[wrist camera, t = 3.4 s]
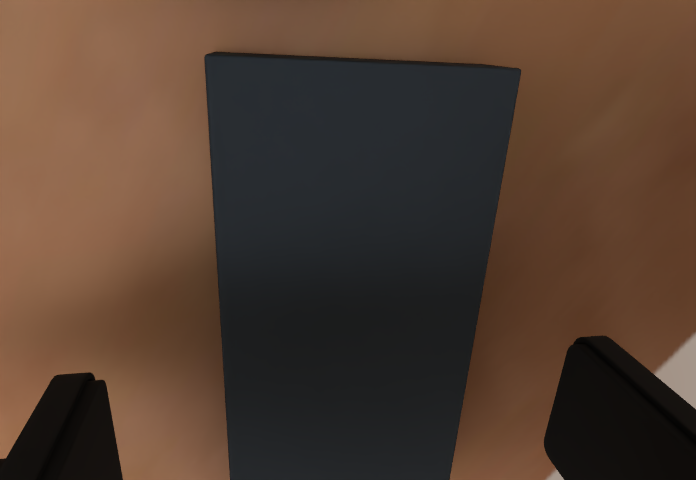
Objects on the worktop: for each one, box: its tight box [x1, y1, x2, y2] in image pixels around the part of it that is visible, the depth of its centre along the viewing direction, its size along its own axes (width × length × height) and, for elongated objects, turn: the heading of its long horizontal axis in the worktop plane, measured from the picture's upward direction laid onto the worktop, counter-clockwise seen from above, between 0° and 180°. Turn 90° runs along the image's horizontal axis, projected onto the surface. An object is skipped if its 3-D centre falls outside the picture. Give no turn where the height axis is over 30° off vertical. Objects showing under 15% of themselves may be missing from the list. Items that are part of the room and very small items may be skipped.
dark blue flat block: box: [204, 52, 521, 480], centre depth 13 cm, size 6×13×2 cm, turn 177°
